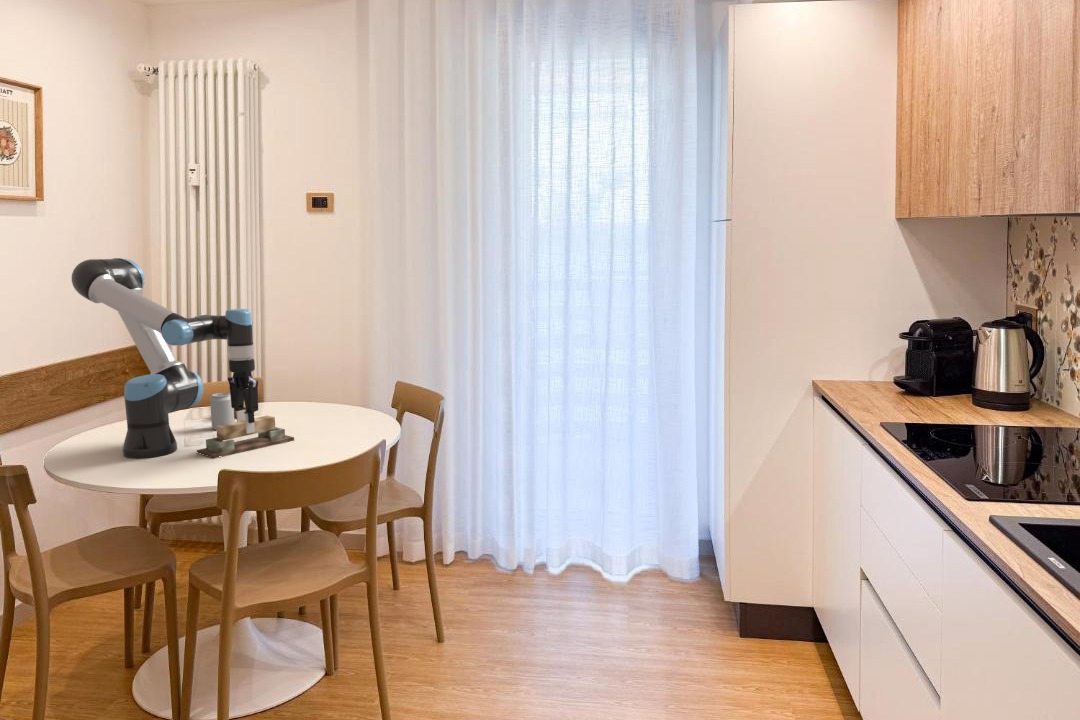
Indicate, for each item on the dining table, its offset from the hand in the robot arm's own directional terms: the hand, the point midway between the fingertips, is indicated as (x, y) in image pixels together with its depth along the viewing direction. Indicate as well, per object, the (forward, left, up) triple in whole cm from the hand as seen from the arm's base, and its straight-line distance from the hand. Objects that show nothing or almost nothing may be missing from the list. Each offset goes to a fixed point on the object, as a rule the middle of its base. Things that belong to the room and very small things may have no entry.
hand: (246, 431), depth 256 cm
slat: (0, 0, -1) cm, 1 cm away
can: (+10, +31, -5) cm, 33 cm away
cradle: (0, 0, -5) cm, 5 cm away
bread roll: (+24, +45, -5) cm, 51 cm away
